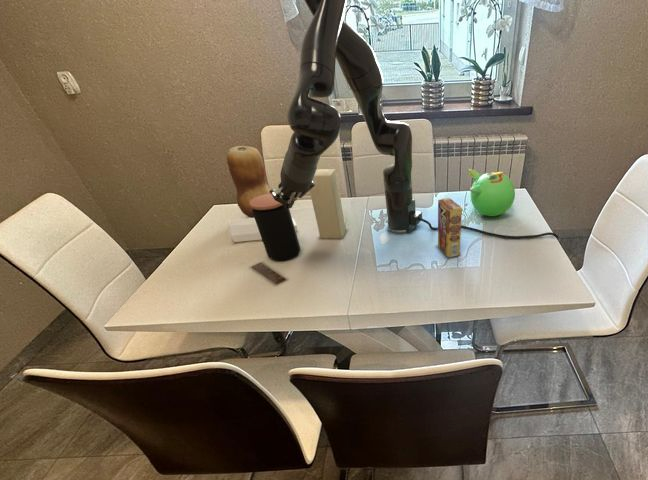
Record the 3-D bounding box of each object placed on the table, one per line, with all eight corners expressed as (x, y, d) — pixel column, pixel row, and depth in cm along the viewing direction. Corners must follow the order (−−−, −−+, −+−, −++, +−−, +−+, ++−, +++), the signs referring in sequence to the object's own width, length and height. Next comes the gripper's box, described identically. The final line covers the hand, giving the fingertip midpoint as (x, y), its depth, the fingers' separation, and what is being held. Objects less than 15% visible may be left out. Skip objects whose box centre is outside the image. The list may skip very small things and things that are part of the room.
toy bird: (516, 222, 134) (522, 179, 124) (468, 224, 135) (470, 181, 125) (508, 202, 147) (512, 162, 137) (464, 204, 148) (466, 164, 138)
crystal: (222, 236, 128) (293, 229, 129) (223, 218, 130) (293, 212, 131) (232, 248, 135) (300, 242, 136) (233, 231, 137) (299, 225, 138)
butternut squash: (278, 222, 144) (256, 150, 127) (242, 227, 142) (215, 155, 125) (280, 208, 154) (259, 140, 137) (246, 212, 152) (221, 144, 135)
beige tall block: (347, 229, 136) (336, 167, 122) (342, 238, 131) (330, 175, 117) (326, 229, 137) (312, 168, 123) (320, 238, 132) (305, 176, 118)
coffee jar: (307, 248, 127) (292, 194, 115) (290, 264, 120) (273, 208, 107) (279, 245, 129) (262, 192, 117) (262, 260, 122) (241, 205, 110)
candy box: (460, 255, 119) (462, 207, 108) (448, 258, 118) (448, 210, 107) (449, 243, 125) (450, 197, 114) (437, 246, 124) (437, 199, 113)
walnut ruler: (285, 279, 113) (285, 278, 112) (276, 284, 111) (276, 282, 111) (261, 263, 121) (260, 262, 120) (252, 267, 119) (251, 266, 119)
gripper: (312, 148, 95) (299, 187, 110) (265, 162, 88) (258, 201, 103) (329, 174, 96) (314, 209, 110) (284, 190, 89) (274, 225, 104)
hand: (287, 205), depth 107 cm, fingers closed
